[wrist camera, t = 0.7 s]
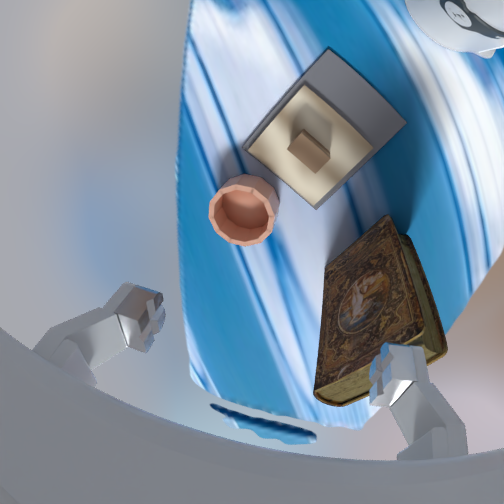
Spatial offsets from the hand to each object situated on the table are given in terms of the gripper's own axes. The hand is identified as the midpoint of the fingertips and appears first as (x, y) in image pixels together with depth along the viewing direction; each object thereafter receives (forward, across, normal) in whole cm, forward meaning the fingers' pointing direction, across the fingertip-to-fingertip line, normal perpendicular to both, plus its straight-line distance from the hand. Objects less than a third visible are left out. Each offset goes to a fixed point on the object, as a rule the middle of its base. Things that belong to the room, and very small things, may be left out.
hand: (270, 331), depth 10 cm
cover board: (+36, 0, +1) cm, 36 cm away
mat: (+36, -1, -1) cm, 36 cm away
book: (+37, -12, +17) cm, 42 cm away
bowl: (+36, +8, +13) cm, 39 cm away
